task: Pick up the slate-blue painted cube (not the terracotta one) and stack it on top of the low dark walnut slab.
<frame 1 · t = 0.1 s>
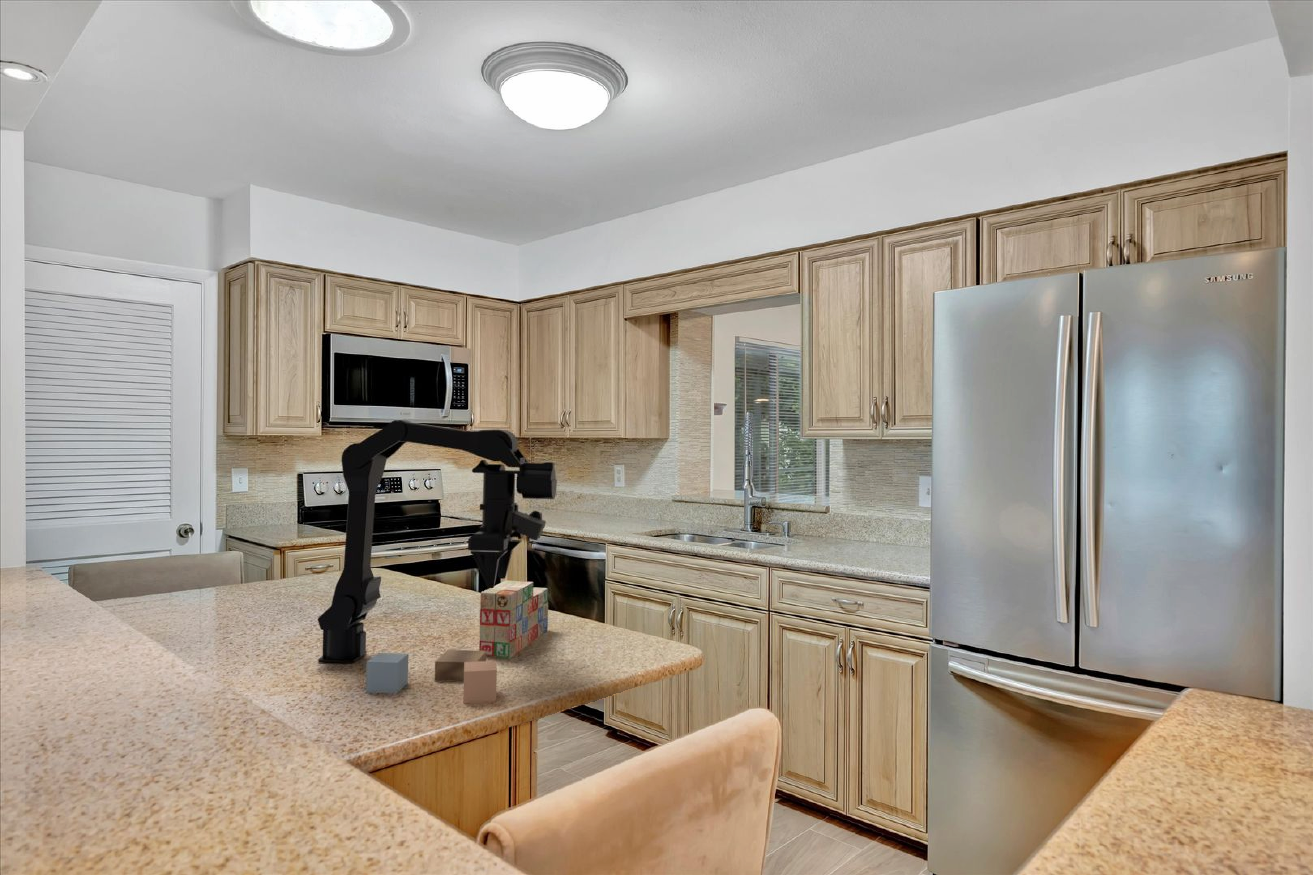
hand: (496, 583, 138), 15 cm above the countertop, fingers open, 9 cm apart
terracotta cube: (479, 697, 120), on the countertop
stack of blocks: (515, 643, 152), on the countertop
slate cube: (387, 688, 123), on the countertop
walnut slab: (461, 676, 131), on the countertop
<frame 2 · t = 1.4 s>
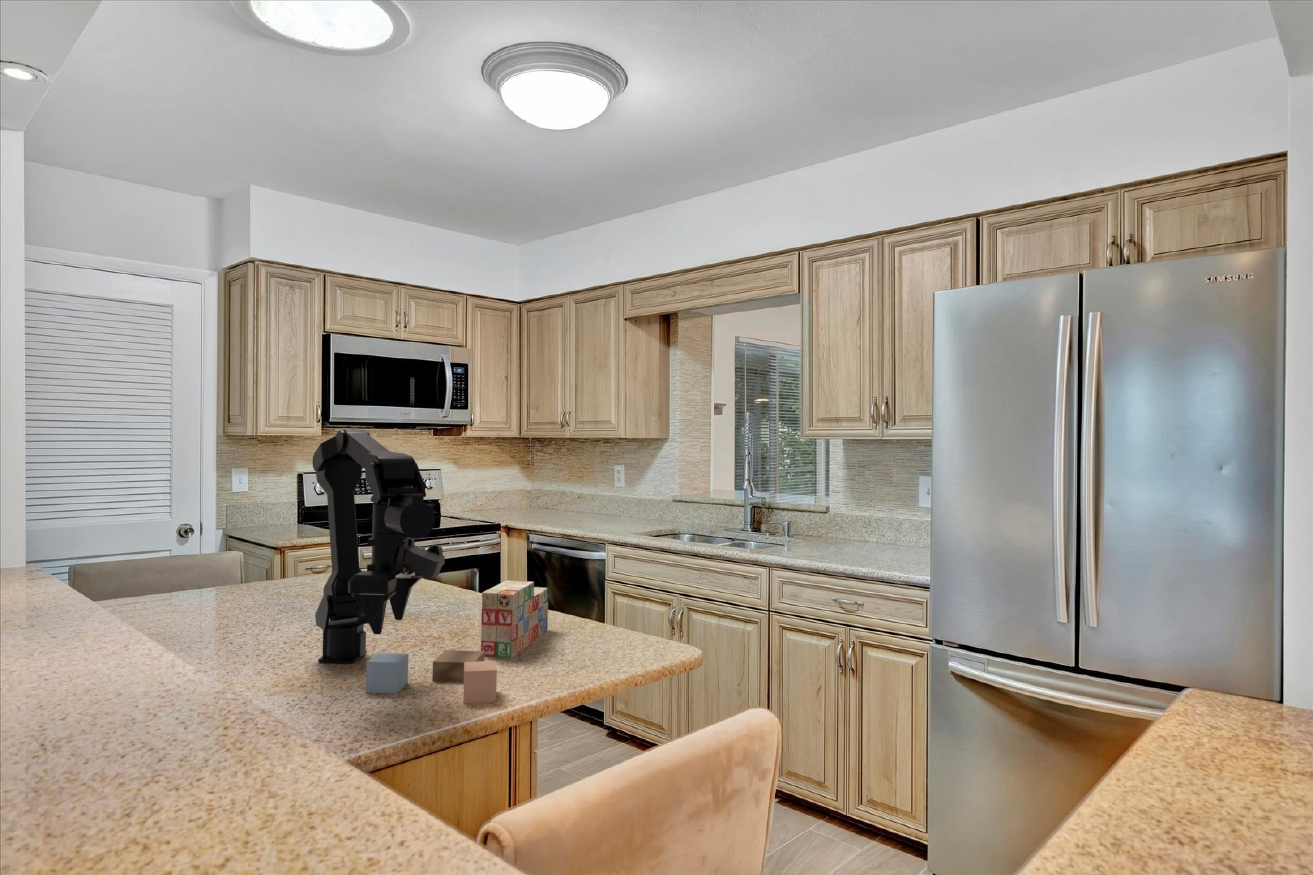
hand: (388, 626, 123), 10 cm above the countertop, fingers open, 9 cm apart
nothing on the countertop moved.
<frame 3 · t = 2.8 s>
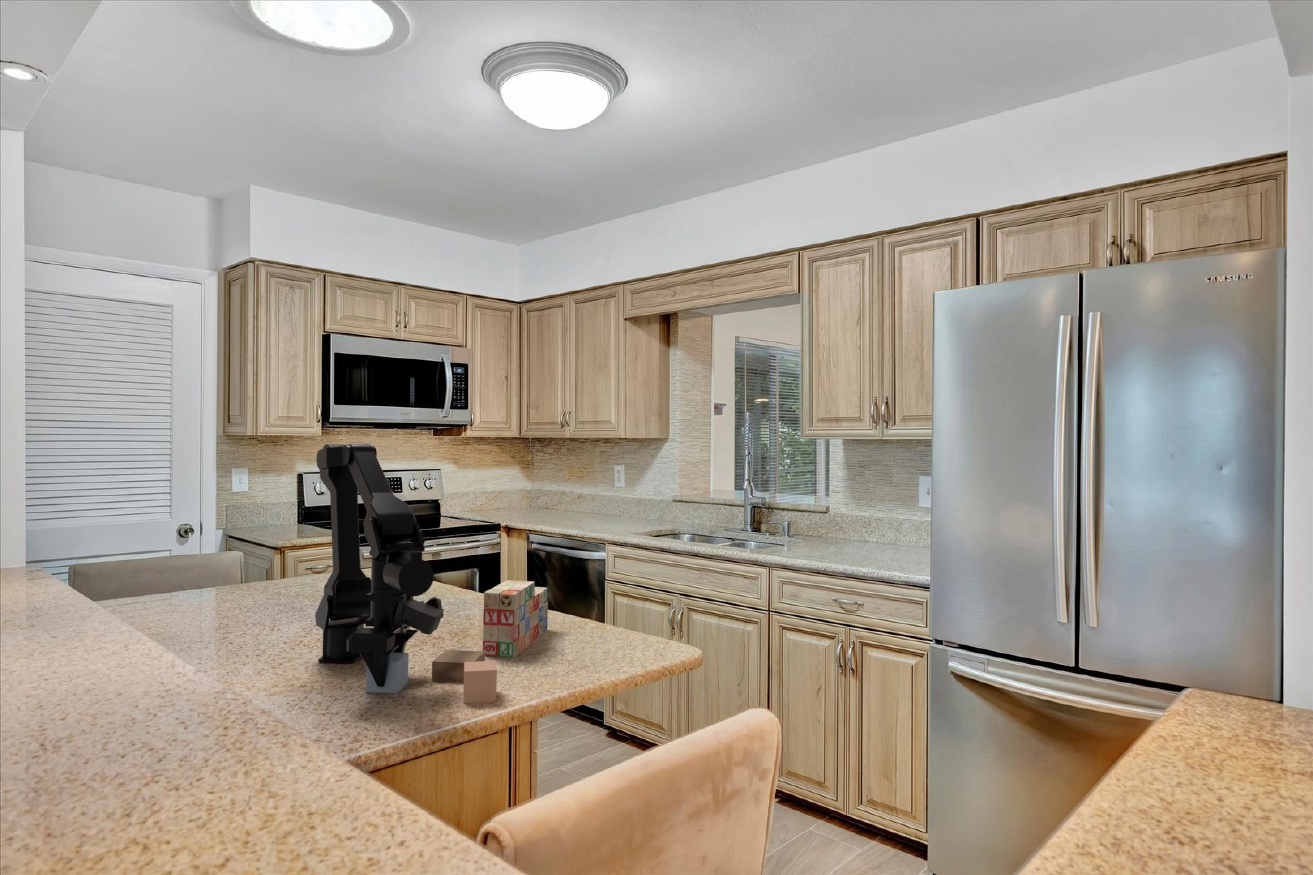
hand: (387, 681, 123), 1 cm above the countertop, fingers closed on slate cube, 5 cm apart
slate cube: (387, 687, 123), on the countertop, touching gripper
everything else where it was.
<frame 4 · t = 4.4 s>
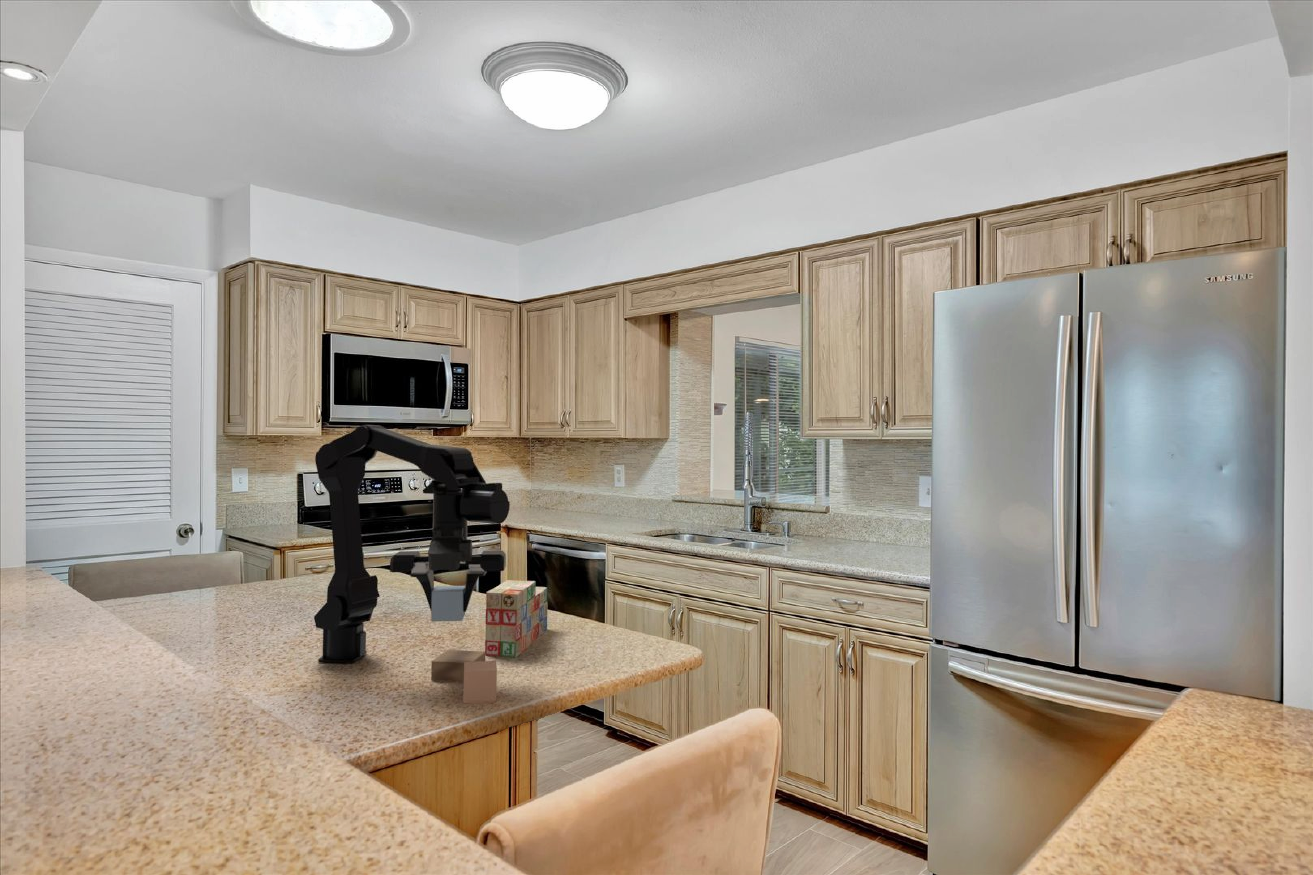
hand: (448, 611, 129), 11 cm above the countertop, fingers closed on slate cube, 5 cm apart
slate cube: (448, 617, 129), point 10 cm above the countertop, touching gripper
everything else where it was.
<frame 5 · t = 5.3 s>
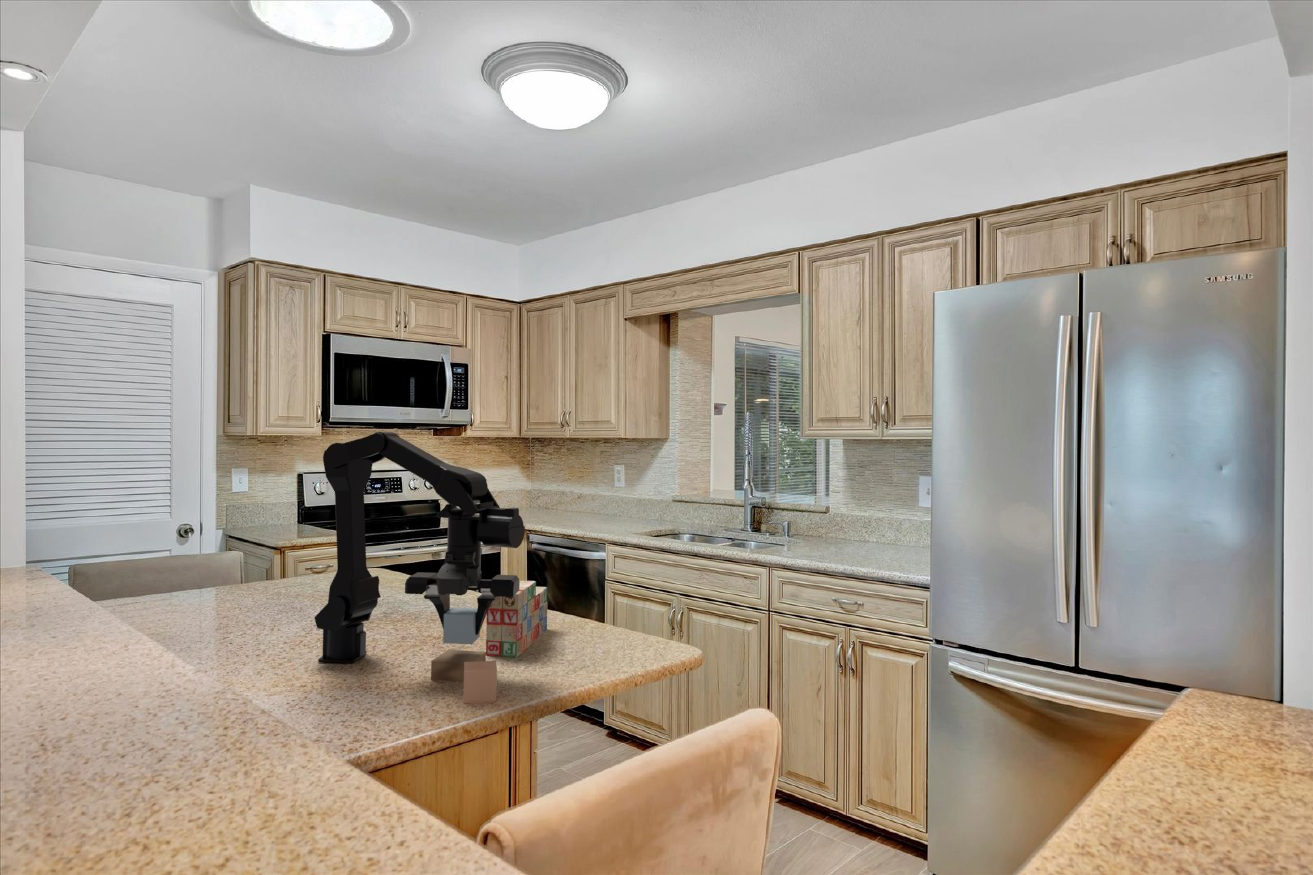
hand: (462, 633, 131), 7 cm above the countertop, fingers closed on slate cube, 5 cm apart
slate cube: (461, 639, 131), point 6 cm above the countertop, touching gripper
everything else where it was.
when the fingers open (6 cm above the countertop, at t = 5.9 s): slate cube drops 2 cm, resting on walnut slab.
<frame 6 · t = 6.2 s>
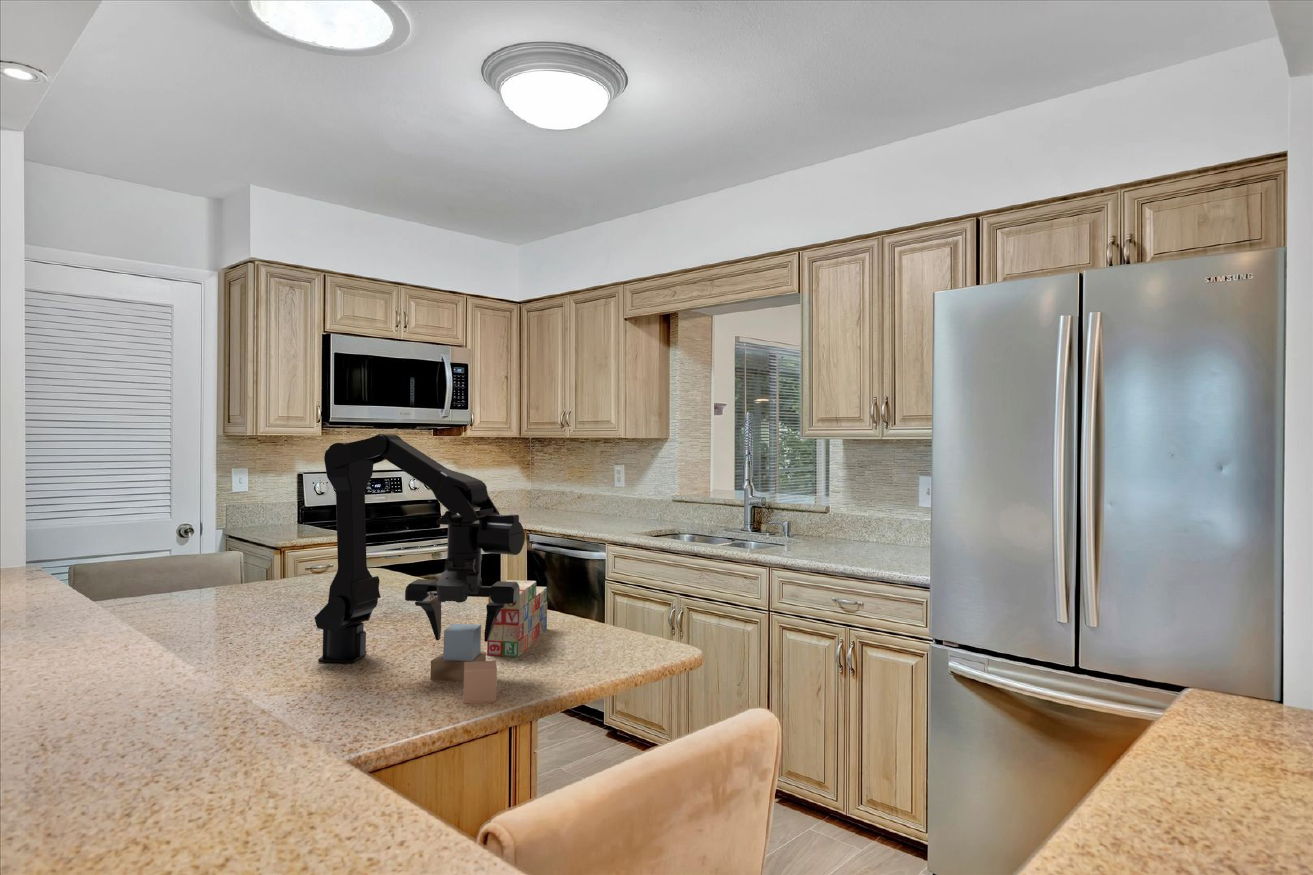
hand: (462, 640, 131), 6 cm above the countertop, fingers open, 8 cm apart
slate cube: (462, 656, 131), point 3 cm above the countertop, touching walnut slab
walnut slab: (458, 676, 131), on the countertop, touching slate cube
everything else where it was.
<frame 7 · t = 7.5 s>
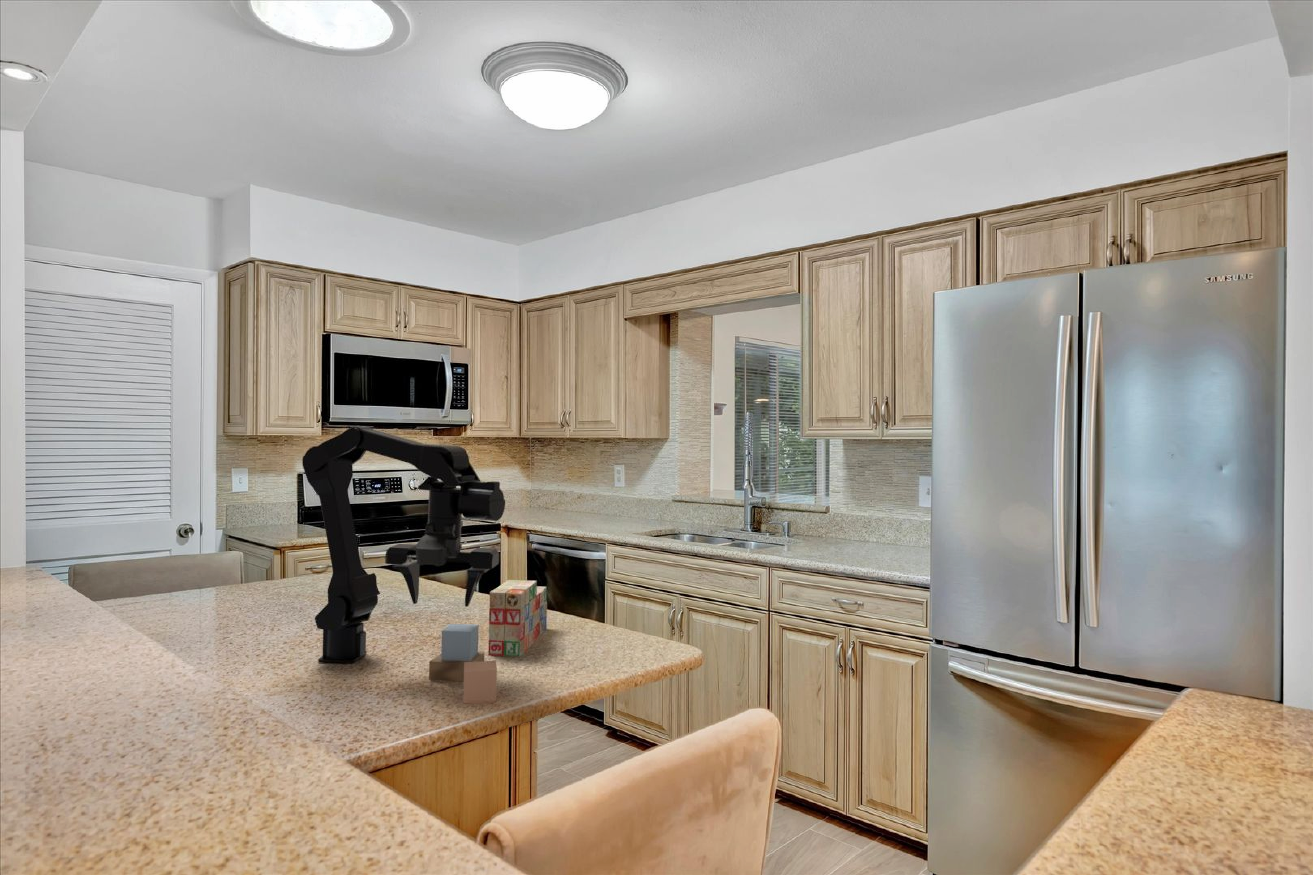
hand: (441, 604, 133), 12 cm above the countertop, fingers open, 9 cm apart
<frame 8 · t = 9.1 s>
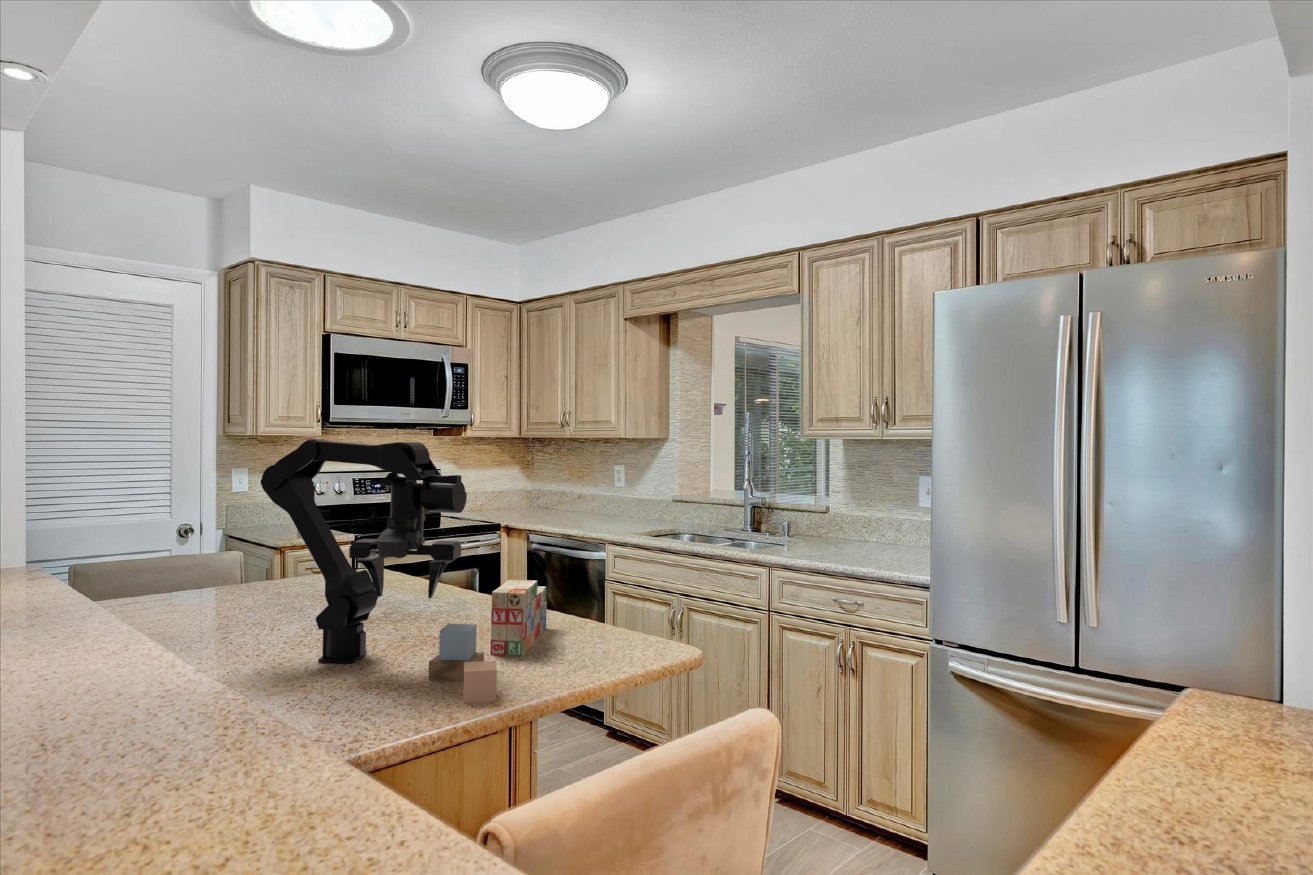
hand: (405, 597, 136), 12 cm above the countertop, fingers open, 9 cm apart
slate cube: (457, 656, 131), point 3 cm above the countertop
walnut slab: (456, 676, 130), on the countertop
at the end: slate cube 0.1 cm off-centre on the walnut slab, point 3.6 cm above the walnut slab's base; slate cube tilted 1°; the gripper is holding nothing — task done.
